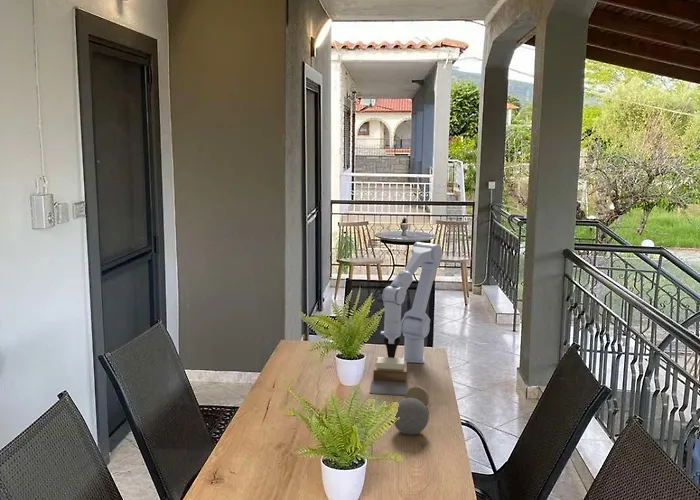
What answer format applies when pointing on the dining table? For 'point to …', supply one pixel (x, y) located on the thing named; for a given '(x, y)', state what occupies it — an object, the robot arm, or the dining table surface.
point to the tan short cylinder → (418, 394)
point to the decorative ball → (411, 416)
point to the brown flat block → (390, 374)
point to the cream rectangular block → (390, 363)
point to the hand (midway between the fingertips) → (391, 357)
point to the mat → (388, 388)
